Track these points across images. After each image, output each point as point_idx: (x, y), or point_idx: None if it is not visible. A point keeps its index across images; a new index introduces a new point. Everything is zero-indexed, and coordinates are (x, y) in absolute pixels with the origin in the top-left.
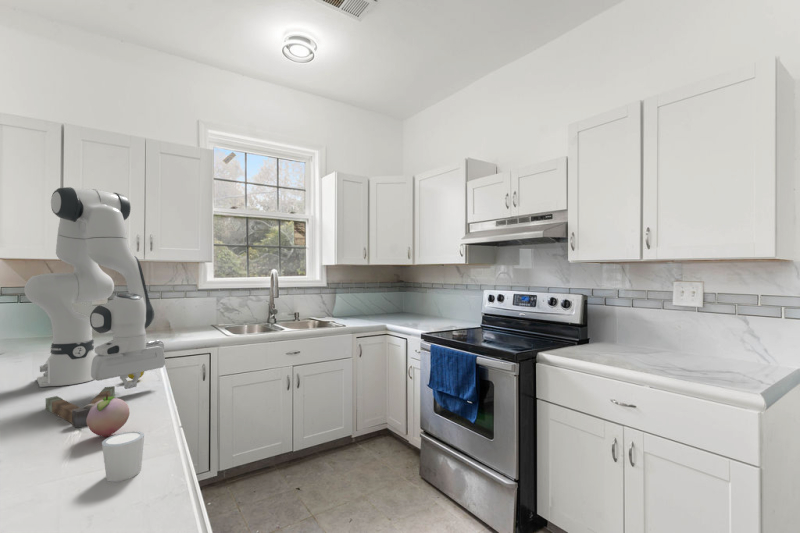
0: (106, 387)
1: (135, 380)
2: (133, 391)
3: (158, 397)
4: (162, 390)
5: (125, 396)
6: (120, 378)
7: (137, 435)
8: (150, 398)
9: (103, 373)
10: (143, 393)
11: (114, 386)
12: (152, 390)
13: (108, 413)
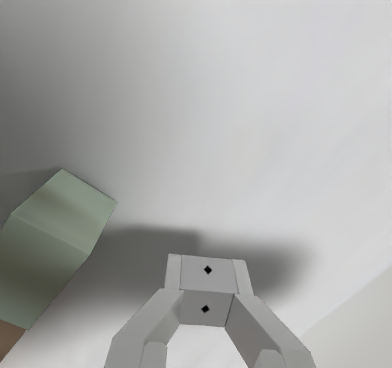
0: (19, 238)
1: (233, 340)
2: (254, 190)
3: (226, 364)
4: (320, 308)
5: (161, 245)
6: (114, 341)
7: None
8: (202, 353)
9: None
10: None
11: (86, 258)
12: (308, 269)
13: None
